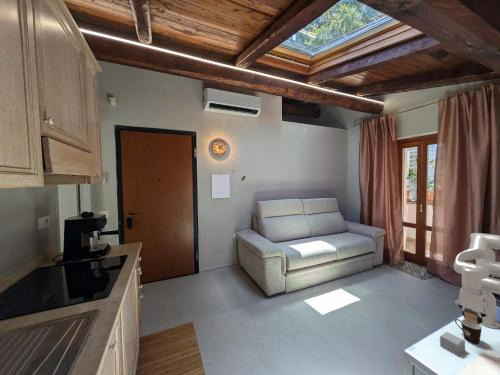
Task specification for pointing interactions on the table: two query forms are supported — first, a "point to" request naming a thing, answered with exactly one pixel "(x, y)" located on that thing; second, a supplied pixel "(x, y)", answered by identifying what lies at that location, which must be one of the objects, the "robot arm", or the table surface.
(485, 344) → the table surface
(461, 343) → the stoneware box
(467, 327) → the coffee mug
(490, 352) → the table surface
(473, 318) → the walnut block
